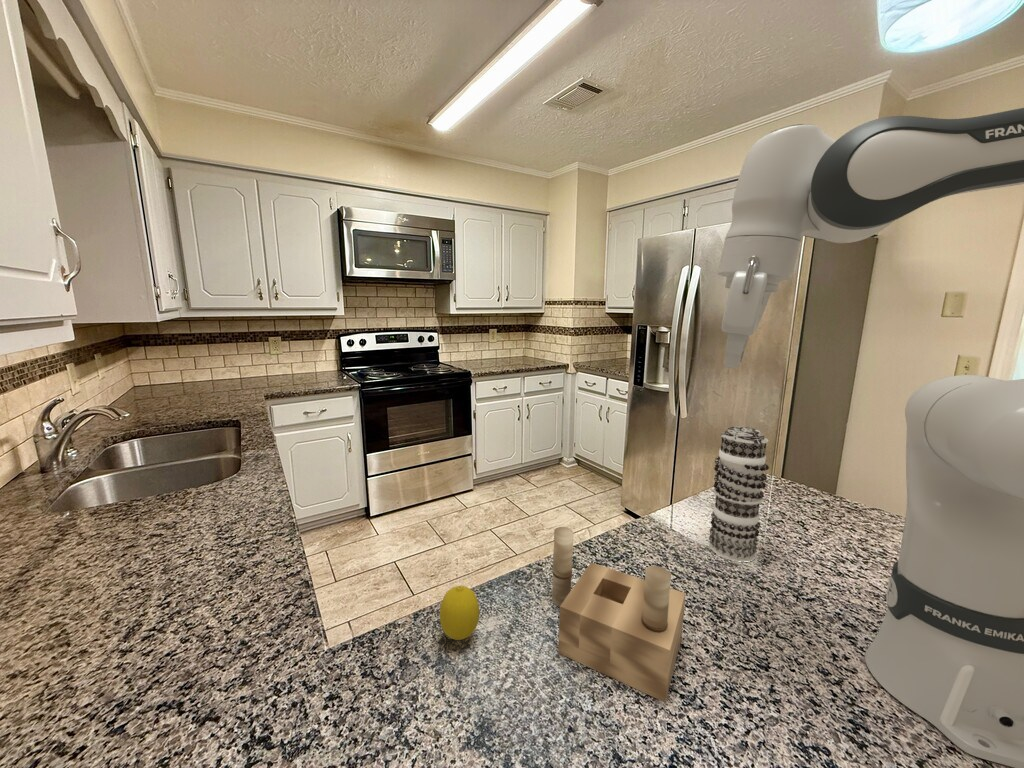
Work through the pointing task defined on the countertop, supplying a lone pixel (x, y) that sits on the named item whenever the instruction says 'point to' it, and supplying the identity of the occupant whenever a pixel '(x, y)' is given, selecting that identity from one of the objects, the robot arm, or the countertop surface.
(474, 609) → the lemon
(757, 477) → the decorative candle
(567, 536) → the peg
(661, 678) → the wooden peg hole block
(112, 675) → the countertop surface
